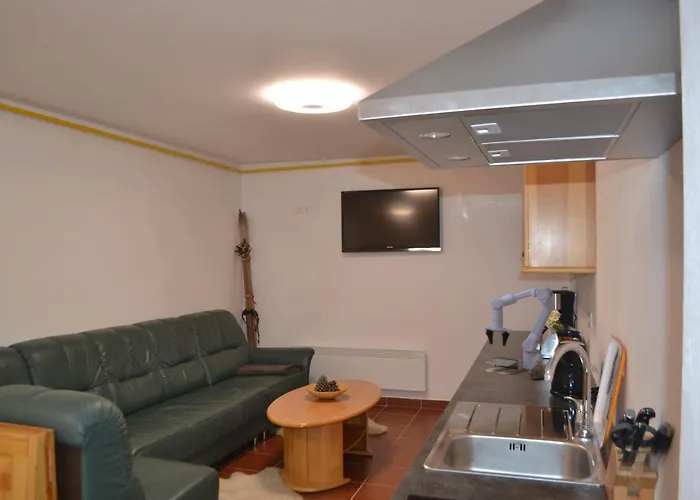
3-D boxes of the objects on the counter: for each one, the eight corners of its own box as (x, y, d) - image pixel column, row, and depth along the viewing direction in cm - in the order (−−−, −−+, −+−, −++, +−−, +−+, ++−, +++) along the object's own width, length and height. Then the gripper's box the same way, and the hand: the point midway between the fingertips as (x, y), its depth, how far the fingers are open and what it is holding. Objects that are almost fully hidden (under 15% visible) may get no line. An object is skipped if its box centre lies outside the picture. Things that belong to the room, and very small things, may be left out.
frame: (522, 370, 280) (522, 359, 280) (511, 375, 270) (511, 363, 270) (493, 366, 290) (493, 356, 290) (482, 370, 281) (482, 359, 281)
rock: (539, 358, 267) (553, 375, 262) (531, 365, 271) (544, 382, 266) (527, 362, 260) (541, 380, 255) (519, 369, 263) (532, 387, 258)
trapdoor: (523, 367, 284) (523, 358, 284) (508, 373, 271) (508, 364, 271) (500, 364, 293) (500, 355, 293) (485, 369, 279) (485, 361, 279)
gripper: (513, 320, 294) (513, 345, 294) (488, 318, 304) (488, 342, 304) (507, 321, 289) (507, 347, 289) (482, 319, 298) (482, 344, 298)
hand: (497, 344), depth 296 cm, fingers open, 7 cm apart
